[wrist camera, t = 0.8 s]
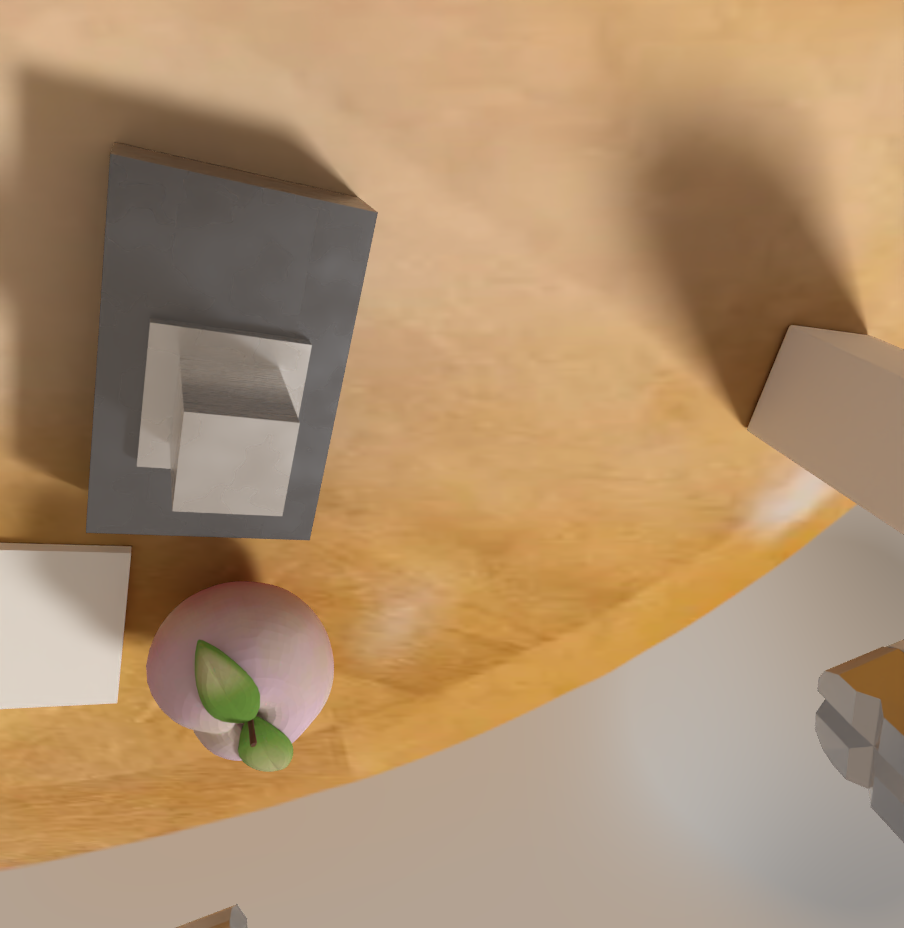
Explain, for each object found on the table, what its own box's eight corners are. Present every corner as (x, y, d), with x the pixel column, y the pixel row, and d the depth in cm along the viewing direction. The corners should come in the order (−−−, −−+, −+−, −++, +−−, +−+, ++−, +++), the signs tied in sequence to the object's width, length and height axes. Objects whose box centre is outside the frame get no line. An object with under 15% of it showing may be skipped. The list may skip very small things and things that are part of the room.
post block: (91, 492, 36) (85, 532, 33) (114, 141, 30) (110, 153, 27) (298, 503, 40) (309, 540, 37) (358, 197, 34) (377, 212, 31)
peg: (138, 426, 35) (133, 537, 27) (150, 293, 33) (149, 374, 25) (275, 438, 38) (307, 543, 30) (297, 316, 35) (338, 396, 27)
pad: (-98, 705, 38) (-102, 714, 38) (-108, 539, 34) (-112, 547, 33) (117, 695, 42) (116, 703, 42) (131, 546, 38) (131, 553, 38)
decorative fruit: (343, 614, 45) (386, 744, 36) (224, 687, 44) (240, 836, 36) (255, 507, 39) (282, 631, 31) (119, 589, 39) (110, 737, 31)
